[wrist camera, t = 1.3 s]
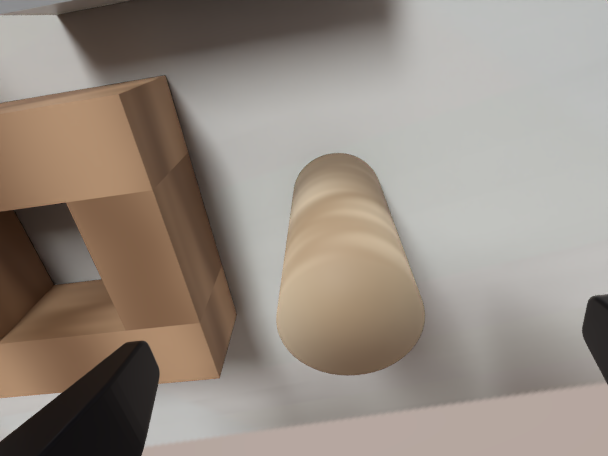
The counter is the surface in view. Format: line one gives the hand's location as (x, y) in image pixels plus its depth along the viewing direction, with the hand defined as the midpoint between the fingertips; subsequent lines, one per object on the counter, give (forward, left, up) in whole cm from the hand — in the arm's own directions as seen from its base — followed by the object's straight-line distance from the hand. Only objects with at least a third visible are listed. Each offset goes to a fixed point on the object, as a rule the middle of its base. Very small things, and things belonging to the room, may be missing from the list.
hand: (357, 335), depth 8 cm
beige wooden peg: (0, 0, -8) cm, 8 cm away
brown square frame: (+10, 0, -7) cm, 13 cm away
